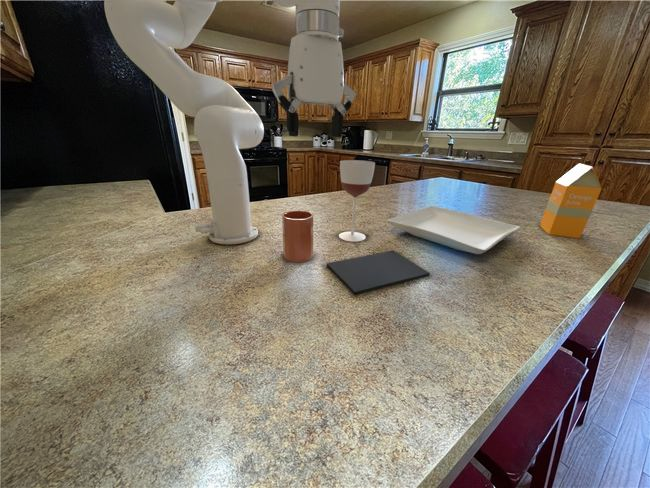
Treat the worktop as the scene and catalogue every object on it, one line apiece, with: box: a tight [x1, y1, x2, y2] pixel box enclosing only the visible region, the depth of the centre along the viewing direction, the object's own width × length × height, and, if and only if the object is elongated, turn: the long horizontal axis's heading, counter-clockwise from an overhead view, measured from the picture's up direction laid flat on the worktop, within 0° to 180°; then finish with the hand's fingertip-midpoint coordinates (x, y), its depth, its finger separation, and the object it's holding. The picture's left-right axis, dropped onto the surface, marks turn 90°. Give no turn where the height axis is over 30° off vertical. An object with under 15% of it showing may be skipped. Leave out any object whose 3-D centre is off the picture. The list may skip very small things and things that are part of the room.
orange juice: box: [539, 162, 603, 239], centre depth 79 cm, size 8×9×20 cm
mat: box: [326, 250, 431, 295], centre depth 57 cm, size 18×12×1 cm, turn 115°
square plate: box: [387, 205, 522, 255], centre depth 77 cm, size 27×27×4 cm
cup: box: [281, 209, 314, 263], centre depth 61 cm, size 7×7×10 cm
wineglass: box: [338, 159, 376, 243], centre depth 71 cm, size 8×9×20 cm
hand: (315, 136), depth 54 cm, fingers open, 9 cm apart
